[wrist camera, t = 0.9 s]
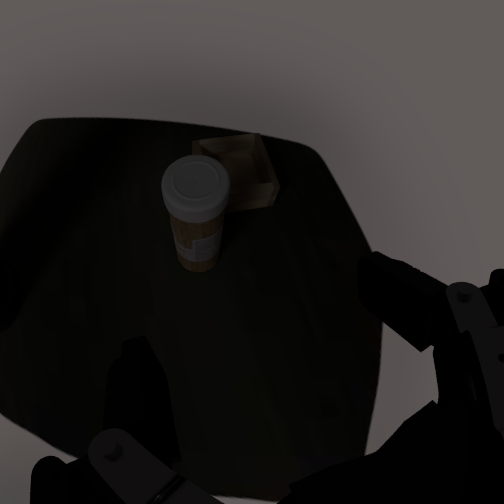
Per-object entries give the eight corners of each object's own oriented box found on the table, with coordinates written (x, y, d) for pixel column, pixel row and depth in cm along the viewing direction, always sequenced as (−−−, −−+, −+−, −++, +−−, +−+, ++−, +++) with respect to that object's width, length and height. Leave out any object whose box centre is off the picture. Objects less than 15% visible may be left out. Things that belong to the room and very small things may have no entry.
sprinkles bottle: (171, 242, 30) (152, 164, 18) (209, 227, 31) (214, 144, 19) (187, 280, 29) (174, 220, 16) (227, 263, 30) (243, 194, 18)
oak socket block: (204, 217, 32) (205, 198, 28) (192, 162, 34) (192, 141, 30) (272, 205, 34) (280, 187, 30) (254, 154, 36) (259, 133, 32)
